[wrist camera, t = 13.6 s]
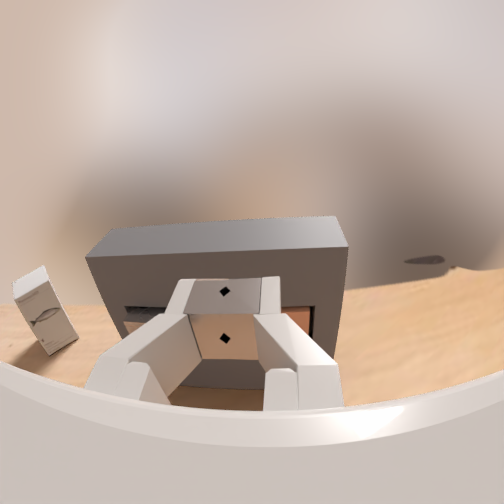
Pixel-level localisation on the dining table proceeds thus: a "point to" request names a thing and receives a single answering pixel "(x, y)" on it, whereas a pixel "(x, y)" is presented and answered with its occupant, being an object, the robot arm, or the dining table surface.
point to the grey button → (141, 316)
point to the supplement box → (43, 310)
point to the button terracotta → (298, 316)
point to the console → (227, 275)
